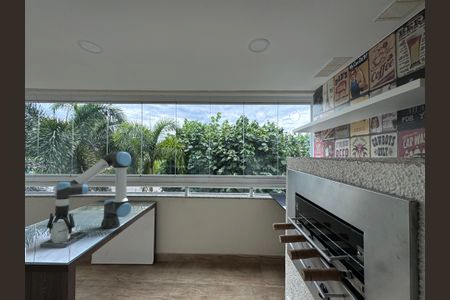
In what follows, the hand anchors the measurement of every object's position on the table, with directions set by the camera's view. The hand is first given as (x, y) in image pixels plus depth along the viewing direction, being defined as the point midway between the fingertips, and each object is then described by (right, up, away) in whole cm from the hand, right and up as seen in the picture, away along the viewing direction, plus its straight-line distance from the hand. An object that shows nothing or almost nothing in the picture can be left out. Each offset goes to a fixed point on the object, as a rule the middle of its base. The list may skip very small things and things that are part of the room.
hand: (60, 238), depth 158 cm
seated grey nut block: (-1, -5, +13) cm, 13 cm away
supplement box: (0, -2, 0) cm, 2 cm away
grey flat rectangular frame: (0, -4, +6) cm, 7 cm away
